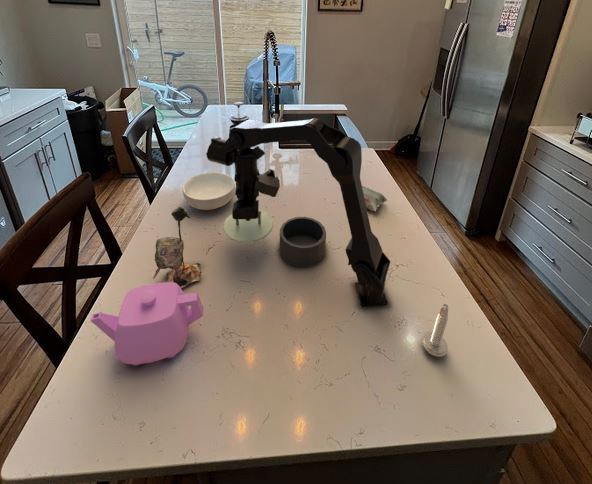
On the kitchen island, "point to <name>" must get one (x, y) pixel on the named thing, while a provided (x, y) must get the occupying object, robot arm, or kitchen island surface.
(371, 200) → the packaged food
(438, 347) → the screw
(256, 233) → the lid
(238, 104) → the french press
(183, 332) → the teapot
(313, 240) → the container
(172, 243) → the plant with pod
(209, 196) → the cereal bowl
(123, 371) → the kitchen island surface
